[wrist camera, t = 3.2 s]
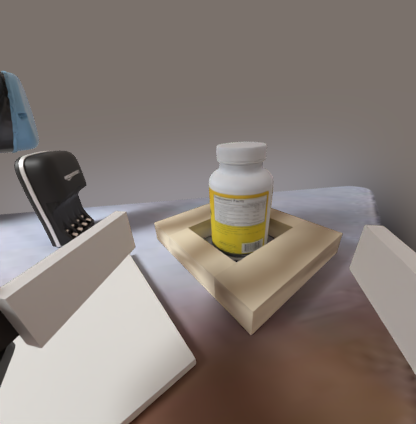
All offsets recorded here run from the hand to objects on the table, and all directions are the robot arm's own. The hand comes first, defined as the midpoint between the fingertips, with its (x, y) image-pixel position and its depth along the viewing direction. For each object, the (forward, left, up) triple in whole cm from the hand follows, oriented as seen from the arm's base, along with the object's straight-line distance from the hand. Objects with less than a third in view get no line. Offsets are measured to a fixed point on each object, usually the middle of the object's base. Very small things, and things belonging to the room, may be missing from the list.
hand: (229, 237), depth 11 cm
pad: (-6, -10, -8) cm, 14 cm away
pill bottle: (-6, +7, -8) cm, 13 cm away
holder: (-6, +7, -8) cm, 12 cm away
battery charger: (-23, -8, -8) cm, 26 cm away
